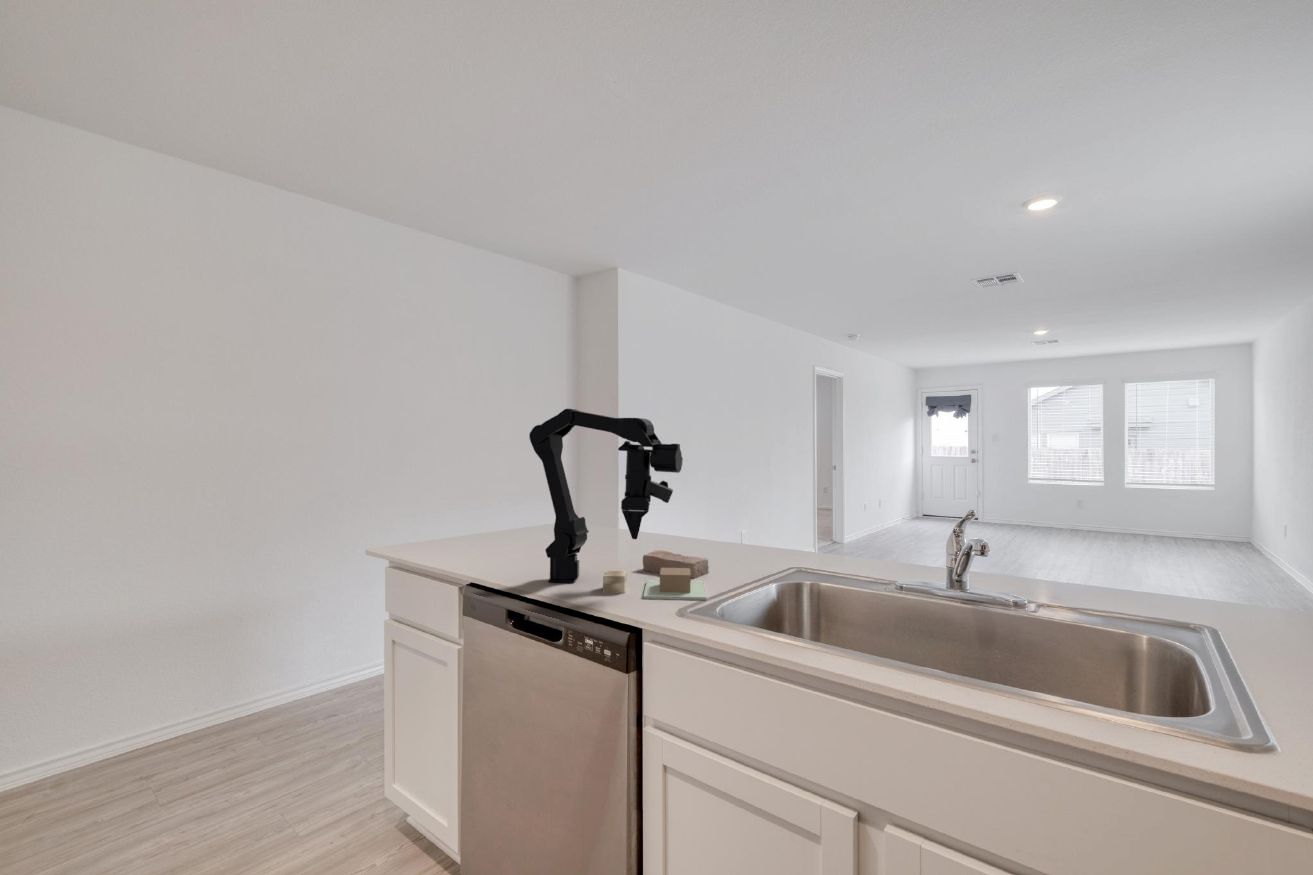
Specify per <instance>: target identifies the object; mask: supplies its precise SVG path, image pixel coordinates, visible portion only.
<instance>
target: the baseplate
mask: <svg viewBox="0 0 1313 875" xmlns="http://www.w3.org/2000/svg"><path fill="white" fill-rule="evenodd" d="M691 579H692V578H691V574H690V568H661V571H660V573H659V580H651V579H650V580H646V584H645V588H644V590H643V591H644V592H643V596H642V598H643V599H645V600H647V599H648V600H685V601H686V600H689V601H692V600H693V601H707V592H706V586H705V585H706V584H705V581H699V580H697V581H695V580H693V581H692V580H691Z"/></svg>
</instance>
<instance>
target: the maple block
mask: <svg viewBox="0 0 1313 875" xmlns="http://www.w3.org/2000/svg"><path fill="white" fill-rule="evenodd" d="M627 574H628V572H627V570H621V571H620V570H605V572H604V574H603V575H602V593H603V594H604V593H606V594H607V593H609V594H626V590H627V585H628V584H627V583H628V582H627V578H628V577H627V576H628V575H627Z"/></svg>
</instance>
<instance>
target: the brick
mask: <svg viewBox="0 0 1313 875" xmlns="http://www.w3.org/2000/svg"><path fill="white" fill-rule="evenodd" d="M709 566H710V565H709V559H708V558H706V557H703V558H702V557H698V556H693V555H692V556H689V555H687V556H685V555H682V554H680V553H674V552H670V551H666V550H664V549H663V550H662V549H661V550H660V549H658V550H654V551H653V550H652V551H650V552H648V553H645V554H643V556H642V567H643V570H645V571H648V572H653V573H658V574H660V571H661V568H690V574H691V579H693V580H694V579H697V578H700V577H703V576H706V575H709V572H710V570H709V569H710V567H709Z"/></svg>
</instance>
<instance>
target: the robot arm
mask: <svg viewBox="0 0 1313 875" xmlns="http://www.w3.org/2000/svg"><path fill="white" fill-rule="evenodd" d="M577 426H578V427H582V428H586V429H592V430H597V431H603V432H606V433H607V432H608V433H611V434H613V435H616V436H618V437H620V438H621V439H625V441H624V442H623V444H621V446H619V447H618V449H617V450H618V452H619V451H620V452H621V451H622V452H625V451H626V463H625V465H626V466H625V474H624V476H625V477H624V479H625V487H624V488H625V489H624V490H625V491H624V497H623V498H622V500H621V503H620V504H621V507H620V508H621V509H620V510H621V512H622V514H623V517H624V519H625V524H626V525H627V528H628V531H629V533H630V536H631V537H630V538H631V539H632V540H637V539H638V536H639V533H640V529H641V528H640V527H641V523H642V519H643V517H644V516H645V515H647V514H648V513H649V511H650V505H651V498H652V497H654V498H656V499H658V500H661V501H662V502H664V503H666V504H669V502H670V499H671V497H672V494H673V492H674V490H673V488H671V487H669V483H668V481H665V480H663V479H662V480H661V481H660V482H659V483H658V482H656V481H654V480H652V475H651V468H653V470H654V472H659V473H661V472H662V473H677V474H679V473H680V472H681V471H682V468H683V467H682V466H683V457H682V454H683V453H682V450H681V444H680V443H669V444H668V443H662V442H661V440H660V439H659V438H658V436H657V434H656V433H655V427H654V424H653V423H652V421H651V420H649V419H647V418H641V417H612V416H608V415H607V416H606V415H602V414H596V413H591V412H586V411H581V410H578V409H576V408H565V409H563V410H562V411H561V412H559V413H558V414H556V415H554V416H553V417H551V418H549V419H547V420H545V421H543V422H542V423H541V424H536V425H535V426H533V427H532V429H531V430H530V432H529V440H530V444H531V446H532V448H533V451H534V453H535V454H536V455H537V457H538V458H539V459H540V461H541V462H542V467H543V470H544V473H545V478H546V482H547V485H548V490H549V495H550V498H551V503H552V507H553V510H554V514H555V521H554V525H553V526H554V527H553V537H554V540H553V541H552V542H551V543H550V544H549V545H548V546H547V547H546V548H545V549H544V550H545V553H546V557H547V558H548V559H549V578H548V580H547V582H548V583H568V584H569V583H571V584H572V583H576V581H577V579H578V578H579V577H580V560H579V559H578V554H579V553H580V551H581V549H582V547H583V546H584V545H585V544H586V542H587V541H588V533H589V530H588V527H587V524H586V519H585V517H584V516H582V517H579V516H578V515H577V513H576V511H575V507H574V504H573V501H572V497H571V492H570V488H569V485H568V480H567V476H566V473H565V472H566V471H565V468H564V465H563V464H564V463H563V461H562V460H563V459H562V454H563V448H564V442H563V438H564V437H565V436H567V435H568V434H569V433H570V432H571V431H572V429H574V427H577ZM631 442H633V444H632V443H631ZM635 443H638V444H635ZM645 448H651V449H645Z"/></svg>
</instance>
